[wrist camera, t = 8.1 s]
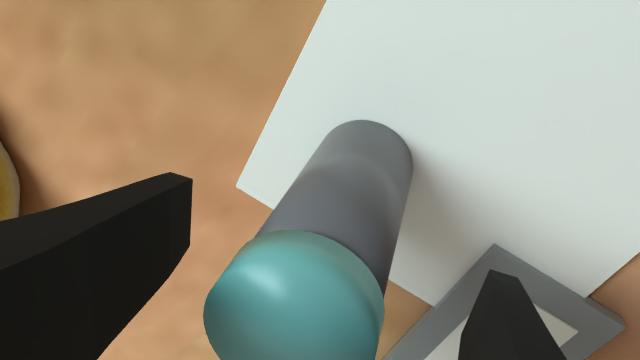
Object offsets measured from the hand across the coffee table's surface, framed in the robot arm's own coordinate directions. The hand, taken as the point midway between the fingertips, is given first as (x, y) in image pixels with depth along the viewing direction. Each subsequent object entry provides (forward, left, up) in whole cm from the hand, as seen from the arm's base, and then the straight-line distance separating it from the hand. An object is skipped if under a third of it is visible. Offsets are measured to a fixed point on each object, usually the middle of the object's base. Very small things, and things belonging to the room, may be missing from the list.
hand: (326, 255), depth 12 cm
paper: (-2, -3, -6) cm, 7 cm away
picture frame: (-7, +4, -6) cm, 10 cm away
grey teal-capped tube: (0, 0, -5) cm, 5 cm away
